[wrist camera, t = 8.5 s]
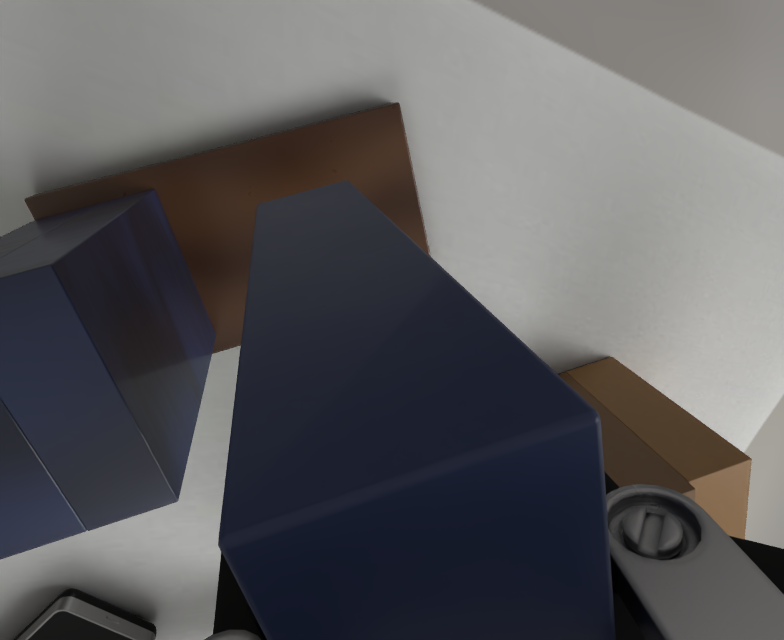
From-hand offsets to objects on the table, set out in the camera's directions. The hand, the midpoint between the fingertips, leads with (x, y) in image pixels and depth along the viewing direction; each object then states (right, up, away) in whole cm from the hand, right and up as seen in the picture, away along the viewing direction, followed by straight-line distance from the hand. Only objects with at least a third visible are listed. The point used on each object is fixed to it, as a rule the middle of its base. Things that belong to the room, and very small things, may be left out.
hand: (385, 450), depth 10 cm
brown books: (+13, -5, +27) cm, 30 cm away
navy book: (-2, +3, +7) cm, 8 cm away
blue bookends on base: (-7, +7, +18) cm, 20 cm away
